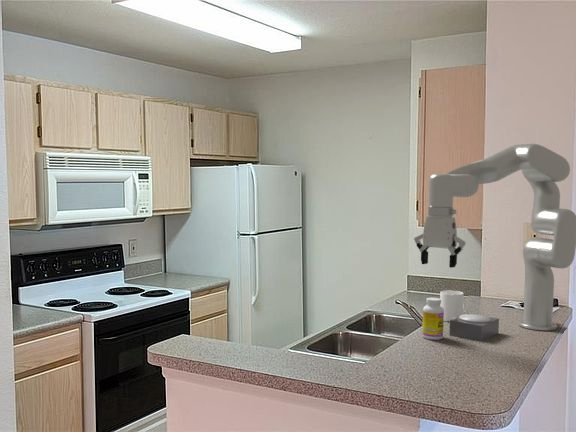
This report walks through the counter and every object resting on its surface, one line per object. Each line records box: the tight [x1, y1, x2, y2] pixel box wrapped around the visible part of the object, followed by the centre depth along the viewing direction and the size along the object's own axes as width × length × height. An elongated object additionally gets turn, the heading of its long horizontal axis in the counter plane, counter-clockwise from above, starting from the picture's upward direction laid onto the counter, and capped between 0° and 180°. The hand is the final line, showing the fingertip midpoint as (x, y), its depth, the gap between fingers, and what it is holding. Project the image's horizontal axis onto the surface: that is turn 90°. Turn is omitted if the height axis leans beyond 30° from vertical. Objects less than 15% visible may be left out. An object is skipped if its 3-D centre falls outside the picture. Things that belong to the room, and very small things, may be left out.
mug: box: [439, 290, 467, 323], centre depth 217 cm, size 12×8×10 cm
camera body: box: [449, 313, 500, 342], centre depth 196 cm, size 14×11×6 cm
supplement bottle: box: [421, 297, 445, 341], centre depth 191 cm, size 7×7×13 cm
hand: (438, 265), depth 188 cm, fingers open, 9 cm apart
